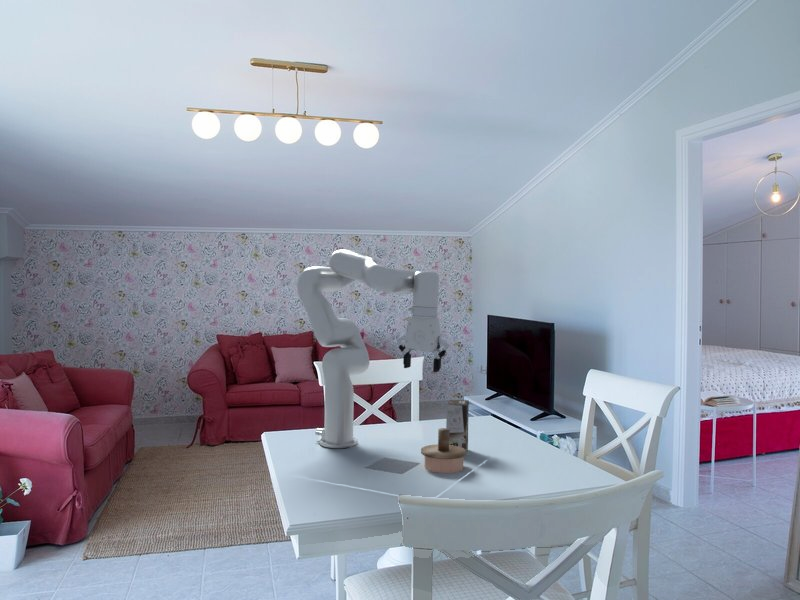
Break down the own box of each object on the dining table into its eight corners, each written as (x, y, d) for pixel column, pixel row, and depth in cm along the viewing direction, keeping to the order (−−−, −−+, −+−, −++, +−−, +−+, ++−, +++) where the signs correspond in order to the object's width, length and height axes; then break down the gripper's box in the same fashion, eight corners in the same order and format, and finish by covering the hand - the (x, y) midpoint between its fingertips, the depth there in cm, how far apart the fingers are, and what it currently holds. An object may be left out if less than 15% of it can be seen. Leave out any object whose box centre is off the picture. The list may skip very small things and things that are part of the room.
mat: (364, 468, 180) (364, 467, 180) (384, 458, 191) (384, 457, 191) (401, 475, 174) (401, 473, 174) (420, 464, 185) (420, 463, 185)
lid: (413, 455, 179) (413, 431, 179) (432, 444, 190) (432, 422, 190) (456, 461, 173) (456, 437, 173) (472, 450, 184) (472, 427, 184)
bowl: (418, 470, 179) (418, 454, 179) (433, 460, 189) (434, 446, 189) (454, 476, 174) (454, 460, 174) (468, 466, 184) (468, 451, 184)
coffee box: (465, 457, 194) (466, 405, 194) (445, 455, 195) (446, 404, 195) (468, 449, 203) (469, 399, 203) (448, 448, 204) (449, 398, 204)
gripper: (393, 310, 188) (390, 367, 188) (446, 315, 180) (443, 374, 181) (404, 309, 194) (401, 364, 195) (456, 314, 186) (453, 371, 187)
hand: (421, 369), depth 188 cm, fingers open, 9 cm apart
